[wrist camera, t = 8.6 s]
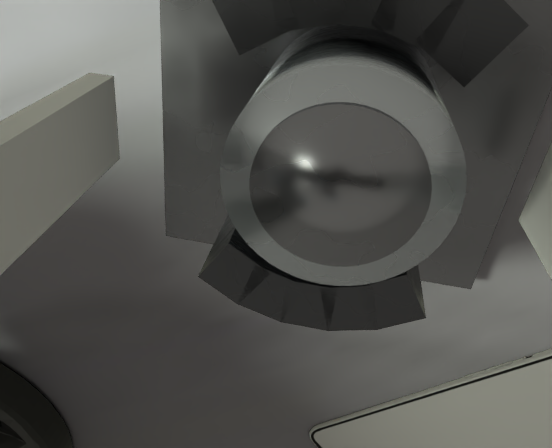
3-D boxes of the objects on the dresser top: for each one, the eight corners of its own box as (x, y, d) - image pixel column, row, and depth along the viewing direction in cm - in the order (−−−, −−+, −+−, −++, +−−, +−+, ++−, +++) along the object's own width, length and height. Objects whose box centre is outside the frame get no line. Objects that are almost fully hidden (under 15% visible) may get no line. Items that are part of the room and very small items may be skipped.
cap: (256, 174, 19) (214, 269, 14) (271, 8, 16) (222, 49, 11) (412, 199, 19) (429, 308, 13) (459, 33, 15) (506, 89, 10)
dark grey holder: (467, 277, 21) (497, 385, 16) (172, 226, 22) (116, 313, 17) (607, -82, 14) (735, -83, 9) (166, -131, 15) (68, -156, 10)
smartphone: (302, 432, 28) (582, 343, 21) (303, 421, 28) (577, 333, 22) (370, 503, 30) (640, 443, 24) (370, 493, 31) (634, 431, 24)
